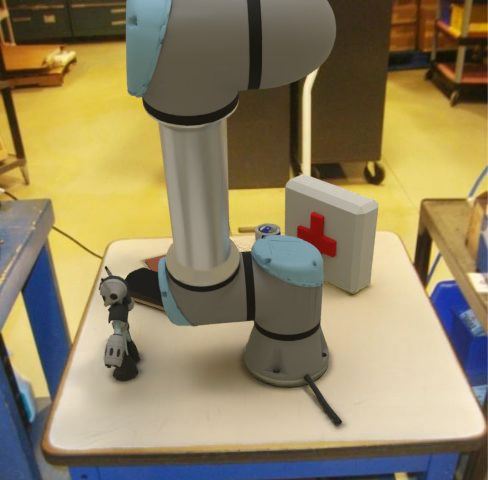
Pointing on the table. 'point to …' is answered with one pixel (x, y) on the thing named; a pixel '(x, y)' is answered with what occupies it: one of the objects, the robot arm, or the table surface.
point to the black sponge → (145, 287)
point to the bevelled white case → (334, 228)
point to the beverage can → (266, 230)
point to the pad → (154, 262)
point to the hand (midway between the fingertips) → (200, 200)
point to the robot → (119, 328)
